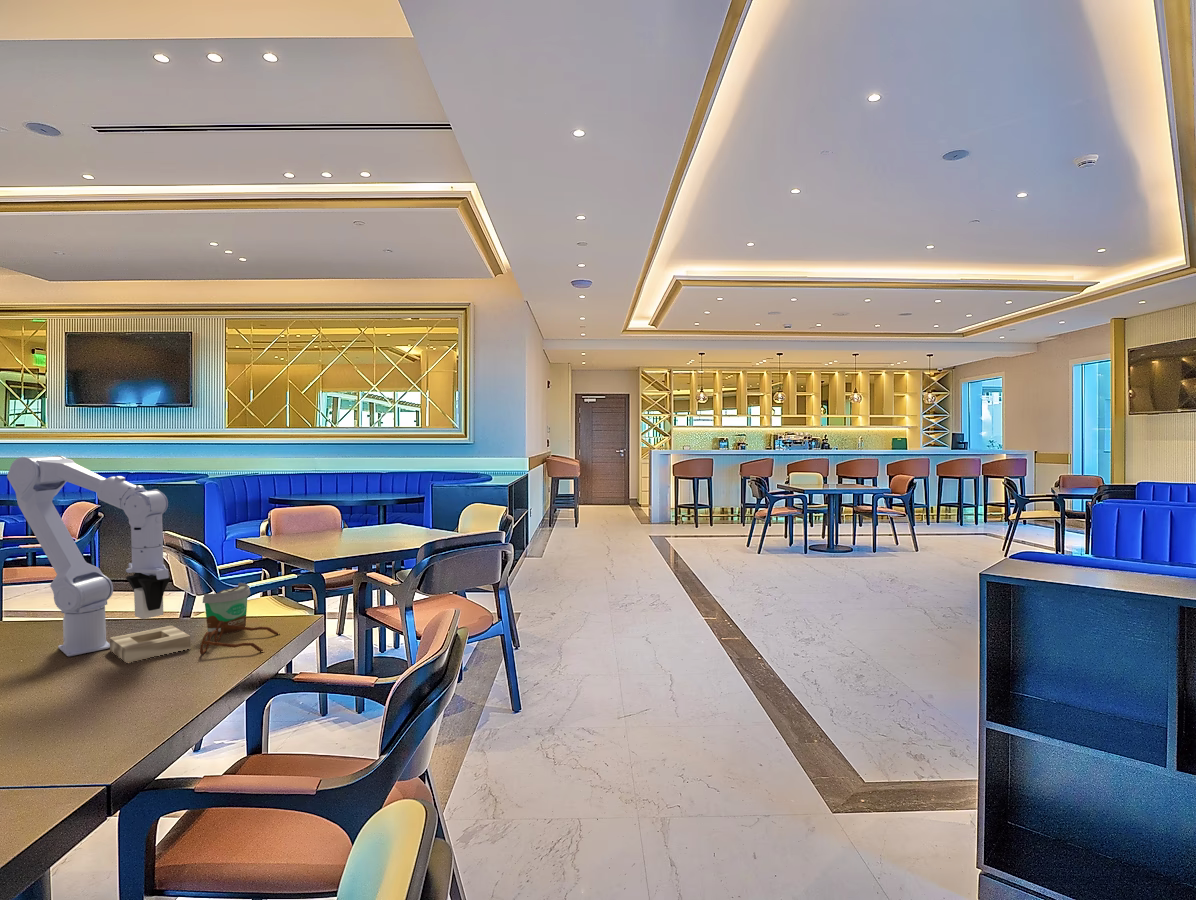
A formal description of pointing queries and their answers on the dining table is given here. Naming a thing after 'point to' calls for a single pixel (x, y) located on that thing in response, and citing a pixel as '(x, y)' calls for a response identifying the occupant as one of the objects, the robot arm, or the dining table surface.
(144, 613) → the connector plug
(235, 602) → the food container
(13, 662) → the dining table surface
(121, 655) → the holder
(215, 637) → the glasses
